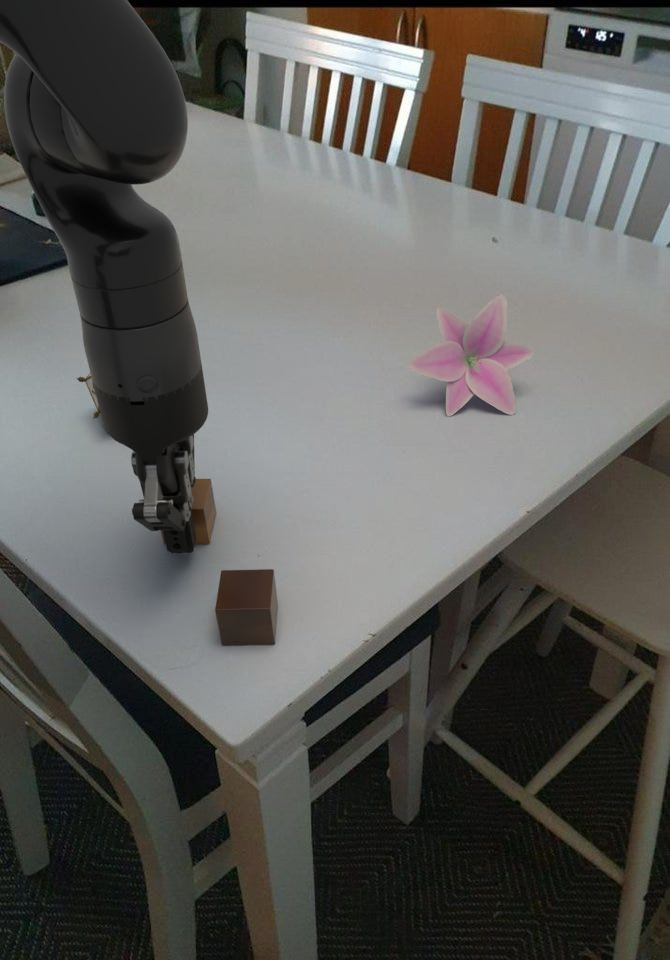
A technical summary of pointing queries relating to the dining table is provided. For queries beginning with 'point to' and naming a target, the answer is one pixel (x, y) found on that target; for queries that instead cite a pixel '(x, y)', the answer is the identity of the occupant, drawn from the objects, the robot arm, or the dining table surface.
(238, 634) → the walnut block
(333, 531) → the dining table surface
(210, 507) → the oak block
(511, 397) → the lily
